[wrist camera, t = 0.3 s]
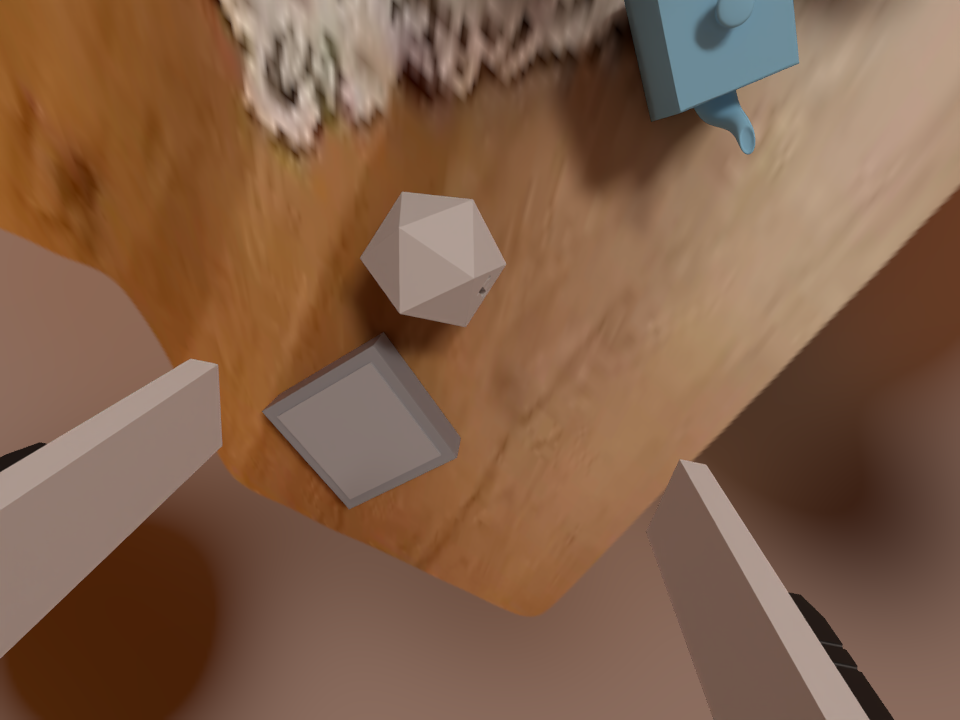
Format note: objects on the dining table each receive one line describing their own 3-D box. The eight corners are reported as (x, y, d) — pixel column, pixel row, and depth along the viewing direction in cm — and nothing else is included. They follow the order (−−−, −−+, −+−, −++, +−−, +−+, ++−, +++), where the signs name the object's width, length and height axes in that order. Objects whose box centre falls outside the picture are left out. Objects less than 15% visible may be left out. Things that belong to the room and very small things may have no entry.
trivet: (278, 394, 41) (260, 413, 38) (383, 332, 37) (372, 346, 34) (359, 487, 44) (348, 511, 41) (460, 437, 41) (456, 459, 38)
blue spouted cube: (749, 137, 30) (819, 130, 23) (658, 173, 31) (699, 176, 24) (717, -79, 26) (791, -166, 19) (613, -27, 27) (647, -91, 20)
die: (416, 320, 38) (482, 366, 30) (324, 263, 32) (377, 302, 24) (471, 234, 37) (551, 259, 30) (388, 160, 31) (463, 168, 24)
